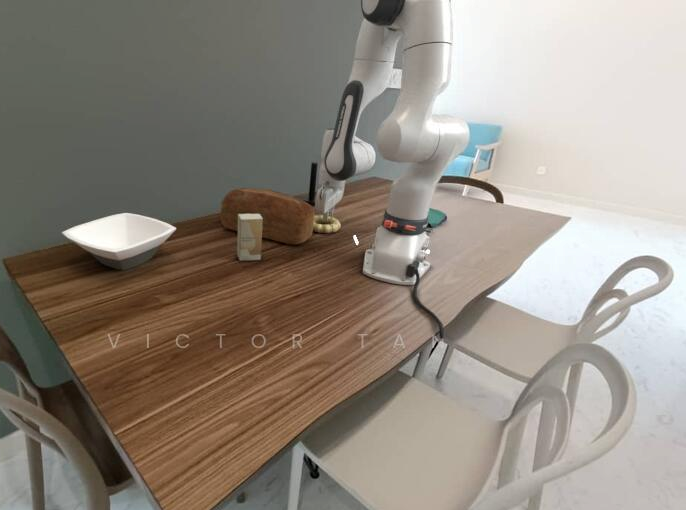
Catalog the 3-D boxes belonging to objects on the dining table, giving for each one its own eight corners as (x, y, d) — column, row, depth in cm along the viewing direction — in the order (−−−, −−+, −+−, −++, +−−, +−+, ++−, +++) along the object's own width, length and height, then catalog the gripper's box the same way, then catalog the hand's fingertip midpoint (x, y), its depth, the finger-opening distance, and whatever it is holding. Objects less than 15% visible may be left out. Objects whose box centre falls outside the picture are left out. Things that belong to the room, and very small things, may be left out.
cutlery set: (451, 217, 153) (452, 211, 152) (432, 240, 131) (434, 233, 130) (401, 206, 162) (402, 201, 160) (375, 226, 139) (377, 220, 138)
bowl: (186, 255, 110) (184, 227, 106) (118, 287, 93) (112, 255, 88) (131, 237, 119) (127, 210, 115) (60, 263, 102) (52, 232, 97)
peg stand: (317, 206, 155) (321, 166, 147) (296, 202, 158) (299, 163, 150) (325, 201, 163) (329, 162, 155) (304, 197, 165) (308, 159, 158)
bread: (302, 250, 118) (306, 206, 111) (216, 229, 128) (214, 188, 121) (317, 237, 127) (321, 196, 120) (236, 219, 138) (235, 180, 131)
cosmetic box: (239, 261, 109) (239, 219, 102) (236, 255, 112) (236, 213, 106) (262, 260, 110) (263, 218, 104) (259, 253, 114) (259, 212, 108)
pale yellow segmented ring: (333, 236, 129) (334, 228, 127) (299, 229, 132) (300, 221, 131) (344, 225, 138) (345, 218, 137) (312, 219, 142) (312, 212, 140)
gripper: (330, 187, 122) (326, 229, 129) (349, 174, 138) (344, 212, 145) (311, 184, 124) (308, 226, 131) (332, 172, 140) (327, 209, 147)
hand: (327, 219), depth 138 cm, fingers closed on pale yellow segmented ring, 3 cm apart
